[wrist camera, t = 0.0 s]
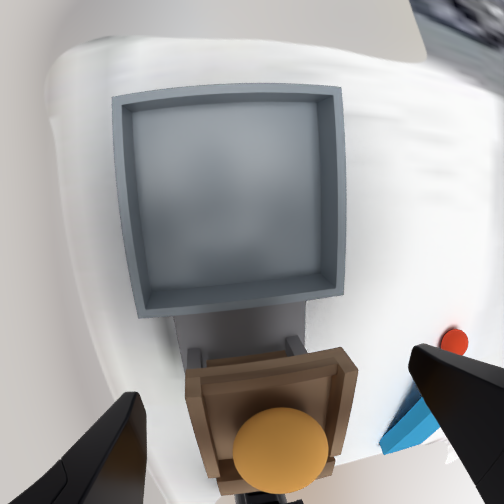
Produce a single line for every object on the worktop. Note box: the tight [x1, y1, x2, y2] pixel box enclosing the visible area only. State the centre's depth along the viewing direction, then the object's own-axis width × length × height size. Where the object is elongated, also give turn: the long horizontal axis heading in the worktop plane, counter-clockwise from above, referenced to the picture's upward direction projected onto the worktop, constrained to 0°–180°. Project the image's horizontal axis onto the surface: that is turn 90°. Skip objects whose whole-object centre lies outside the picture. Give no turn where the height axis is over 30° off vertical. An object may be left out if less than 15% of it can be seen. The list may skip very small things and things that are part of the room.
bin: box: [112, 83, 346, 319], centre depth 20 cm, size 14×14×4 cm
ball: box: [233, 407, 328, 494], centre depth 11 cm, size 4×4×4 cm
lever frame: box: [174, 301, 307, 373], centre depth 23 cm, size 10×10×4 cm
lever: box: [379, 329, 468, 455], centre depth 30 cm, size 7×7×18 cm
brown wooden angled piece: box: [185, 347, 358, 496], centre depth 17 cm, size 8×7×11 cm
